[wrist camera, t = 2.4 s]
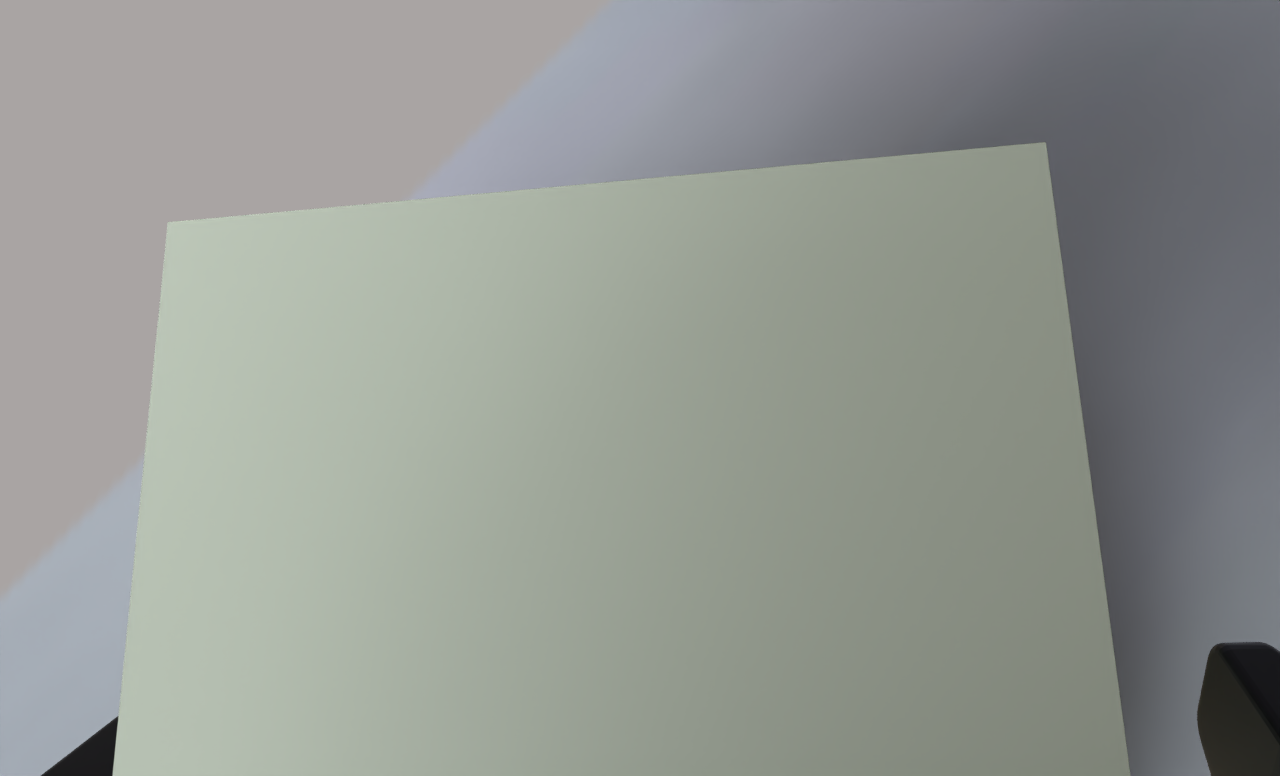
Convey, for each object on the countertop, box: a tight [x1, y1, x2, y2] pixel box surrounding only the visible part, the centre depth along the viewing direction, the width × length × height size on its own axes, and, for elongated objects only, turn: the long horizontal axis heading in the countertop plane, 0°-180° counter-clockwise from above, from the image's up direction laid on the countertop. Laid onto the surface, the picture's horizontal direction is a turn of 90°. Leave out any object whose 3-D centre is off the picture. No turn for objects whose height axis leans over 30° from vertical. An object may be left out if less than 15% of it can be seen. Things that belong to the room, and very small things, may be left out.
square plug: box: [113, 142, 1131, 776], centre depth 11 cm, size 5×5×13 cm
